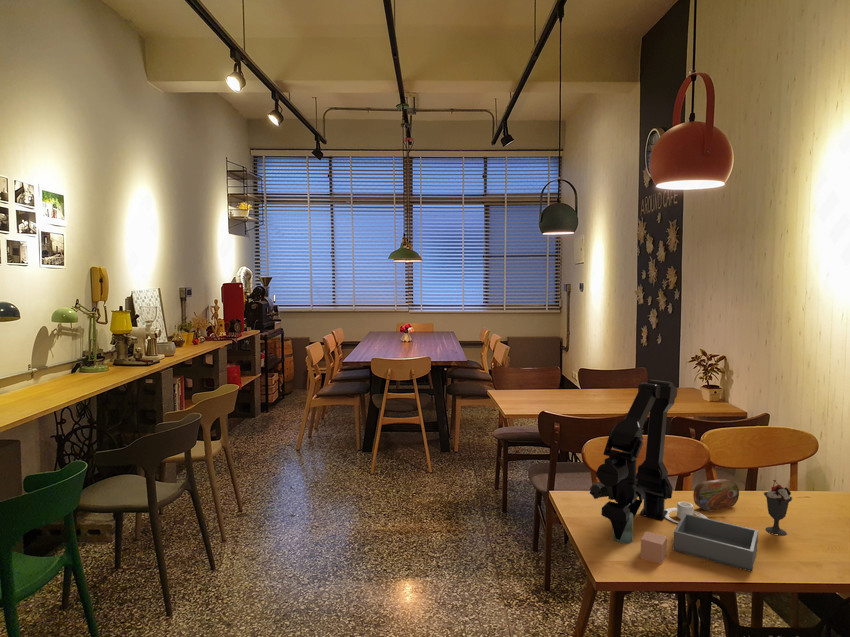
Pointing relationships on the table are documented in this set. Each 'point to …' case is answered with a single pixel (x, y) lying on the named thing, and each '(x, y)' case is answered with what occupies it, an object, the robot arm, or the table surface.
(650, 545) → the cube
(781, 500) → the sundae
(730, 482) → the tin
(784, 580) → the table surface
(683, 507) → the candle holder
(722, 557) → the tote
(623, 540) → the cylinder
